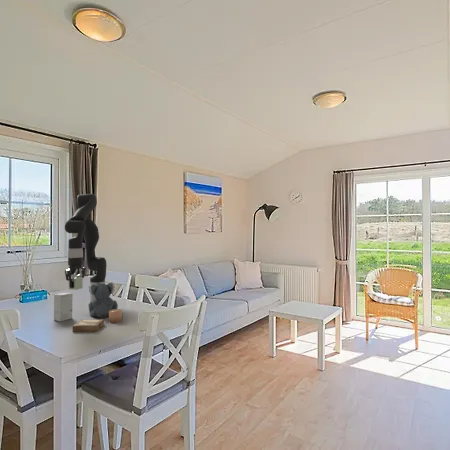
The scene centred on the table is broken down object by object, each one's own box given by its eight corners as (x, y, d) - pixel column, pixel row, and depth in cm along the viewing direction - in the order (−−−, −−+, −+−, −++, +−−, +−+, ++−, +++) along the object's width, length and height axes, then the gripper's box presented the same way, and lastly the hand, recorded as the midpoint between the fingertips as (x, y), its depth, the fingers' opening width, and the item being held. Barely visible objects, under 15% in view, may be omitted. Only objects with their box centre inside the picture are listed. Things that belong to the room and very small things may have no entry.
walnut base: (81, 325, 185) (81, 319, 185) (103, 324, 186) (103, 319, 186) (72, 332, 173) (72, 325, 173) (96, 331, 174) (96, 325, 174)
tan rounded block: (113, 319, 197) (114, 308, 198) (124, 320, 195) (124, 309, 195) (106, 322, 191) (106, 311, 191) (117, 323, 189) (117, 312, 189)
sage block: (75, 287, 193) (75, 277, 193) (82, 288, 191) (82, 277, 191) (68, 289, 188) (68, 278, 188) (76, 289, 186) (76, 278, 186)
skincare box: (59, 321, 192) (59, 295, 192) (53, 320, 195) (53, 294, 195) (73, 318, 199) (73, 292, 199) (66, 317, 202) (66, 291, 202)
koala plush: (117, 310, 219) (117, 279, 219) (118, 317, 202) (118, 284, 202) (88, 312, 213) (88, 281, 213) (86, 319, 196) (86, 285, 196)
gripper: (79, 255, 197) (79, 284, 197) (60, 257, 184) (60, 289, 184) (89, 255, 195) (89, 285, 195) (71, 257, 181) (71, 289, 181)
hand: (75, 286), depth 189 cm, fingers closed on sage block, 5 cm apart
